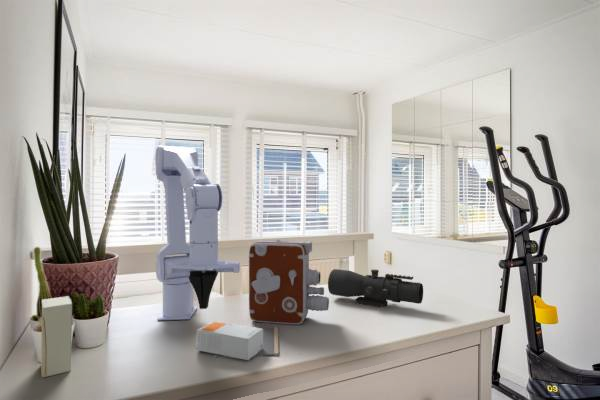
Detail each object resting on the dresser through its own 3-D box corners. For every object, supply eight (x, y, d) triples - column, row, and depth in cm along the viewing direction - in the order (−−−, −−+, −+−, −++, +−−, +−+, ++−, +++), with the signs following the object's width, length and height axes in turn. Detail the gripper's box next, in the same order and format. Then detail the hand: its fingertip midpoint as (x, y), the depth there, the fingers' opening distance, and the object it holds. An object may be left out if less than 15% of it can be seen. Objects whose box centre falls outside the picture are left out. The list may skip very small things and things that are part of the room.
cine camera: (325, 329, 83) (325, 243, 83) (246, 323, 87) (246, 241, 87) (329, 316, 92) (329, 239, 92) (258, 312, 96) (257, 237, 96)
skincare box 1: (40, 365, 65) (40, 299, 65) (69, 358, 68) (69, 295, 68) (41, 379, 60) (41, 307, 60) (72, 371, 63) (72, 302, 63)
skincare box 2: (214, 320, 76) (263, 328, 72) (213, 340, 76) (263, 349, 72) (195, 329, 70) (248, 338, 66) (195, 350, 70) (248, 361, 66)
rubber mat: (225, 330, 82) (225, 328, 82) (277, 329, 83) (277, 327, 83) (215, 357, 68) (215, 355, 68) (278, 355, 69) (278, 352, 69)
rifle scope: (416, 318, 91) (416, 278, 91) (325, 302, 105) (325, 268, 104) (425, 307, 100) (425, 271, 100) (340, 294, 113) (340, 263, 113)
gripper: (161, 244, 69) (162, 314, 69) (237, 244, 70) (237, 312, 70) (172, 240, 76) (172, 303, 76) (240, 240, 77) (240, 302, 77)
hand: (204, 307), depth 74 cm, fingers closed
